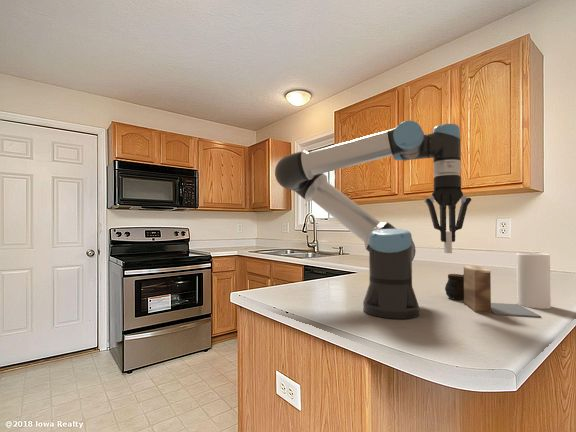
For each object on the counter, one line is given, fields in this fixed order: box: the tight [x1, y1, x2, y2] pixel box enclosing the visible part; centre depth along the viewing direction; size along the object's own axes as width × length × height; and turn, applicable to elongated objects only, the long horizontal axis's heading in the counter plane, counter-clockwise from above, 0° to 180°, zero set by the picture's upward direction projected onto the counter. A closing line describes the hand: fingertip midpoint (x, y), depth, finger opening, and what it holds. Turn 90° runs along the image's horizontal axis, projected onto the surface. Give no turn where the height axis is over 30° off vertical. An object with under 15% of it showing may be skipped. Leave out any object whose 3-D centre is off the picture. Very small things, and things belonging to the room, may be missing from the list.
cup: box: [516, 252, 552, 310], centre depth 98 cm, size 8×8×16 cm
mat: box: [491, 302, 542, 318], centre depth 93 cm, size 11×13×1 cm
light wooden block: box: [463, 265, 492, 314], centre depth 95 cm, size 4×10×12 cm, turn 167°
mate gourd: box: [444, 273, 464, 301], centre depth 107 cm, size 7×8×10 cm
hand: (448, 252), depth 97 cm, fingers closed
